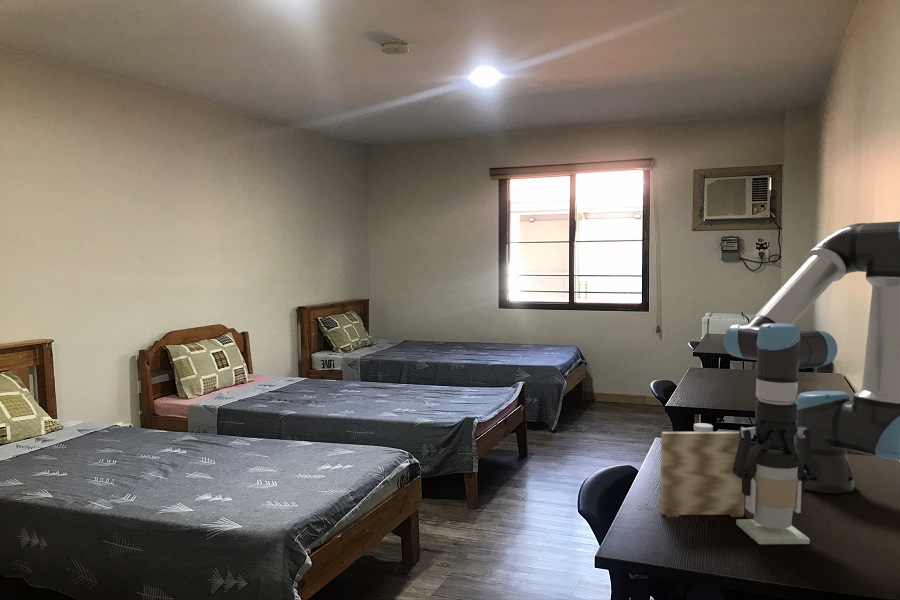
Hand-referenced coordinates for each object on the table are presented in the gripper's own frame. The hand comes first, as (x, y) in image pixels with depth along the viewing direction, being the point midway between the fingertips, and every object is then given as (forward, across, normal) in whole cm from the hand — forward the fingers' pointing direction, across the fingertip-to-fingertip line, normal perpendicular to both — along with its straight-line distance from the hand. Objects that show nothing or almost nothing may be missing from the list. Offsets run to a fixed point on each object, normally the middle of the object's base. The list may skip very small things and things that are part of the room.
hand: (772, 510), depth 136 cm
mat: (+5, 0, 0) cm, 5 cm away
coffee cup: (+3, 0, 0) cm, 3 cm away
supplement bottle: (+5, -1, -38) cm, 38 cm away
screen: (+5, +10, -11) cm, 16 cm away
